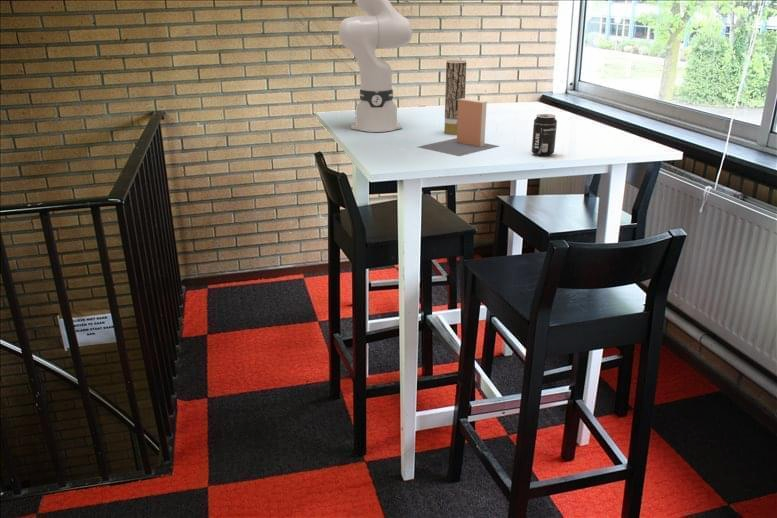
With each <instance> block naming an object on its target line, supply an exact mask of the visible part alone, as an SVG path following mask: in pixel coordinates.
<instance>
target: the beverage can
mask: <svg viewBox="0 0 777 518" xmlns="http://www.w3.org/2000/svg"><path fill="white" fill-rule="evenodd" d="M557 126H558V121H557V119H556V115H555V114H551V113H538V114H536V118H534V121H533V125H532V127H533V128H532V139H531V140H532V141H531V153H532V154H533V155H534V156H536V155H538V157H550V156H551V155H553V154H554V153H555V147H556V146H555V145H556V137H557V136H556V135H557Z"/></svg>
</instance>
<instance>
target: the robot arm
mask: <svg viewBox="0 0 777 518" xmlns="http://www.w3.org/2000/svg"><path fill="white" fill-rule="evenodd" d="M402 1H403V3H406V4H409V3H410V1H411V0H402ZM355 2H356V5H357V7H358V8H359V9H360V10H361V11H362V12H364V13H366V14H368V15H354V16H351V17H346V18H344V19H342V21H341V23H340V25H339V27H338V37H339V40H340V42H341V45H343V47H345V48H346V49H348V51H350V52H351V54H352V55H353V56H354V58H355V59H356V62H357V65H358V68H359V75H360V76H359V77H360V89H359V99H360V100H359V102H358V104H357V105H356V106H355V110H354V111H355V118H354V119H355V122H354V123H352V124H351V126H350V129H351V130H356V131H362V132H370V133H377V132H378V133H382V132H383V133H384V132H391V131H395V130H402V129H403V125H402V124H400V123H399V122H398V106H397V104H396V103H395V102H394V101H393V99H394V89H393V87H392V74H393V73H392V72H393V71H392V67H391V65H390V64H389V63H388V62H387V61H385V60H383V59H381V58H380V57H377V56H376V51H375V50H377V49H378V50H382V49H384V50H385V49H389V50H391V49H392V50H393V49H398V48H401V47H402V48H403V47H406V46H407V45H408V44H409V43H410V42H411V40H412V37H413V27H412V24H411V22H410V20H409V19H408V18H407V17H405V16H403V14H401V13H400V12H398V10H396V9H395V8H394V6H393V4H392V3H391V2H390V0H355Z"/></svg>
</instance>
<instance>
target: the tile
mask: <svg viewBox="0 0 777 518" xmlns="http://www.w3.org/2000/svg"><path fill="white" fill-rule="evenodd" d="M486 118H487V101H484V100H476V99H470V98H465V99H464V98H461V99H458V121H457V135H456V138H457V142H460V143H465V144H470V145H475V146H480V147H481V146H484V143H486V142H485V141H486V124H487V123H486V122H487V119H486Z"/></svg>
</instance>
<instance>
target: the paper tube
mask: <svg viewBox="0 0 777 518" xmlns="http://www.w3.org/2000/svg"><path fill="white" fill-rule="evenodd" d="M445 65H446V66H445V69H446V71H445V91H444V92H445V93H444V94H445V96H444V97H445V99H444V127H443V128H444V129H443V130H444V134H445V135H449V136H450V135H452V136H457V121H458V99H461V98H464V99H466V82H467V81H466V80H467V59H446V64H445Z"/></svg>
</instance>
